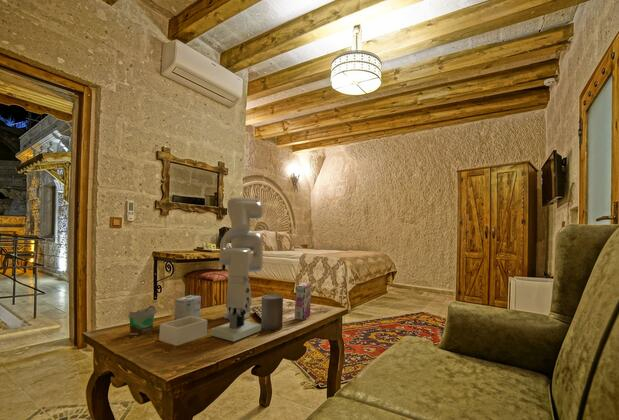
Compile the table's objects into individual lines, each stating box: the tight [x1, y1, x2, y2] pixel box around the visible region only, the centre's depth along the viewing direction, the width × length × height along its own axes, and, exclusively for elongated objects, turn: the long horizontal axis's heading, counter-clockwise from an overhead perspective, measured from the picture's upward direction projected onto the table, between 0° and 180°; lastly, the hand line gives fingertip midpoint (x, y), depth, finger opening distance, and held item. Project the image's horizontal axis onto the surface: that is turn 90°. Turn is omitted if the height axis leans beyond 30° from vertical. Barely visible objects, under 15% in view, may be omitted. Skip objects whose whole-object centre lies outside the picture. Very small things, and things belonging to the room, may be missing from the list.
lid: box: [210, 313, 262, 342], centre depth 129 cm, size 16×12×8 cm
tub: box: [158, 316, 208, 347], centre depth 123 cm, size 14×10×7 cm
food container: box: [128, 305, 157, 336], centre depth 129 cm, size 12×6×10 cm, turn 168°
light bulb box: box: [173, 294, 202, 320], centre depth 149 cm, size 11×7×11 cm, turn 162°
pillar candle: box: [260, 293, 284, 331], centre depth 142 cm, size 10×10×15 cm
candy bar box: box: [294, 282, 312, 321], centre depth 160 cm, size 11×5×16 cm, turn 162°
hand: (237, 324), depth 129 cm, fingers closed on lid, 2 cm apart
